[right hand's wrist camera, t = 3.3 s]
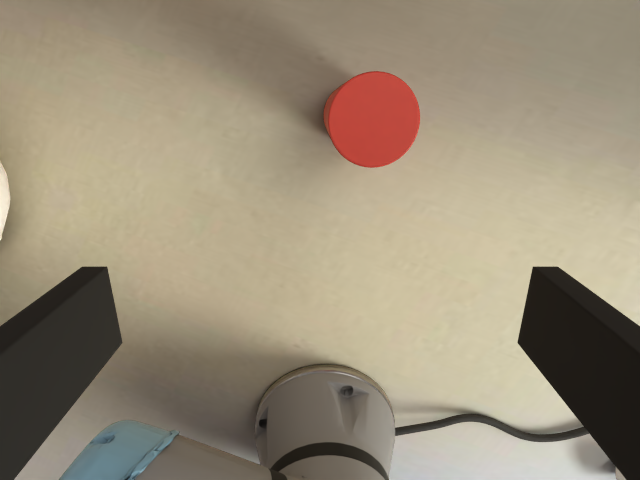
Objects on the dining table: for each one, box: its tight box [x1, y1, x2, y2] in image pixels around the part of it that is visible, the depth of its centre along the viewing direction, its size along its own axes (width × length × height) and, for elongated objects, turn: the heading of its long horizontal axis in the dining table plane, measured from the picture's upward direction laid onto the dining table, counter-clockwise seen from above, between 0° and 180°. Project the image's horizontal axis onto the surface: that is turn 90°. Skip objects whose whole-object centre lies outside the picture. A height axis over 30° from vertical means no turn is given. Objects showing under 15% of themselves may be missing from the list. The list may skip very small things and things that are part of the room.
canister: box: [324, 71, 420, 167], centre depth 28 cm, size 5×5×12 cm
